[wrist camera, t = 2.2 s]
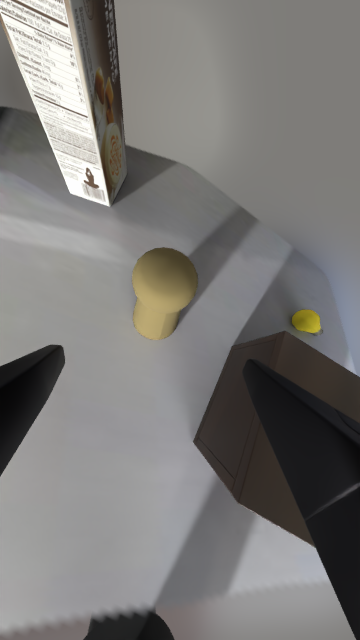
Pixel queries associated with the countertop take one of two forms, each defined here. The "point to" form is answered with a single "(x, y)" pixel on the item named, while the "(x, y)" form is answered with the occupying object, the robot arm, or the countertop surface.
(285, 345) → the cabinet
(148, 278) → the cork
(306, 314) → the light bulb
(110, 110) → the coffee box
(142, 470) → the countertop surface
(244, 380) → the robot arm
